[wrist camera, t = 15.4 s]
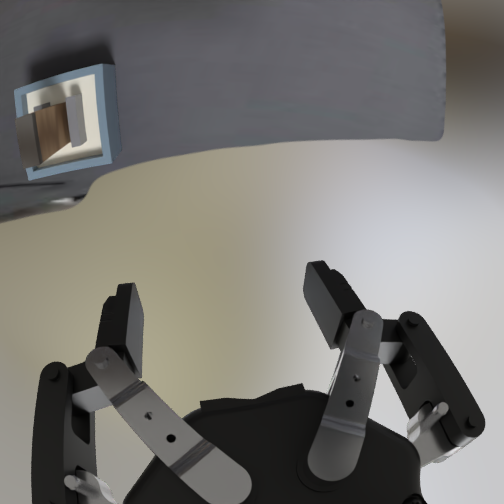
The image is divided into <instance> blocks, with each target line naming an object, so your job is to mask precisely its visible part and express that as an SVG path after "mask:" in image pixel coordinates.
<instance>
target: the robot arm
mask: <svg viewBox="0 0 504 504" xmlns="http://www.w3.org/2000/svg"><path fill="white" fill-rule="evenodd" d="M303 292H304V297H305V300H306V302H307V304H308V306H309V307H310V310H311V312H312V314H313V316H314V317H315V319H316V321H317V323H318V325H319V327H320V329H321V331H322V333H323V335H324V337H325V339H326V341H327V343H328V345H329V347H330V349H335V348H339V349H340V351H341V353H340V355H339V358H338V361H337V365H336V368H335V371H334V374H333V377H332V380H331V383H330V385H329V388H328V391H327V393H326V394H325V393H322V392H319V391H314V390H305V389H304V386H303V384H302V383H301V384H297V385H292V386H288V387H283V388H279V389H276V390H274V391H272V392H270V393H267V394H265V395H263V396H261V397H258V398H256V399H236V398H221V399H213V400H206V401H200V405H201V408H199V409H197V410H194V411H192V412H191V413H189V414H188V415H186V416H185V417H183V418H182V419H181V418H180V417H179V416H178V415H177V414H176V413H175V412H174V411H173V410H172V409H171V408H170V407H169V406H168V405H167V404H166V403H165V402H164V401H163V400H162V399H161V398H160V397H159V396H158V395H157V394H156V393H155V392H154V391H153V390H152V389H151V388H150V387H149V386H148V385H147V384H146V383H145V382H144V381H142V382H141V381H140V380H139V379H138V378H142V348H143V326H144V314H143V309H142V305H141V302H140V298H139V295H138V291H137V288H136V285H135V283H125V284H119V285H118V288H117V293H116V296H109V297H108V299H107V300H106V302H105V303H104V305H103V309H102V315H101V319H100V324H99V330H98V335H97V340H96V346H95V349H94V350H92V351H91V352H90V353H89V354H88V355H87V357H86V360H85V362H83V363H80V364H78V365H74V366H72V367H68V368H67V367H66V365H65V364H63V363H61V362H52V363H50V364H48V365H46V366H45V367H44V369H43V370H42V372H41V375H40V380H39V386H38V393H37V400H36V408H35V416H34V427H33V439H32V440H33V441H32V461H31V487H32V504H118V503H117V502H116V501H115V499H114V497H113V495H112V492H111V489H110V487H109V486H108V484H106V483H105V482H104V481H103V480H101V479H99V478H98V477H97V467H96V449H95V411H96V410H99V409H102V408H105V407H108V406H110V405H113V406H114V408H115V409H116V410H117V411H118V413H119V414H120V415H121V416H122V418H123V419H124V420H125V421H126V422H127V423H128V425H129V426H130V427H131V428H132V429H133V431H134V432H135V433H136V434H137V435H138V436H139V437H140V439H141V440H142V441H143V442H144V443H145V444H146V445H147V446H148V447H149V448H150V450H152V452H153V453H154V454H155V456H154V458H153V459H152V461H151V462H150V463H149V465H148V466H147V468H146V469H145V470H144V472H143V473H142V475H141V476H140V477H139V479H138V480H137V482H136V483H135V484H134V486H133V487H132V489H131V490H130V491H129V493H128V494H127V496H126V497H125V499H124V501H123V504H427V503H426V501H425V500H424V498H423V496H422V493H421V488H420V469H421V468H422V467H424V466H426V465H428V464H430V463H432V462H433V463H439V462H442V461H444V460H446V459H447V458H448V457H450V456H452V455H453V454H455V453H456V452H457V451H459V450H460V449H462V448H463V447H465V446H466V445H467V444H469V443H470V442H471V441H473V440H474V439H476V438H477V437H478V436H479V435H480V434H482V432H483V431H484V428H485V418H484V416H483V414H482V412H481V410H480V408H479V406H478V404H477V403H476V401H475V399H474V397H473V396H472V394H471V392H470V390H469V389H468V387H467V385H466V383H465V382H464V380H463V378H462V377H461V375H460V373H459V372H458V370H457V368H456V367H455V366H454V364H453V362H452V360H451V359H450V357H449V356H448V354H447V353H446V351H445V350H444V348H443V346H442V345H441V343H440V342H439V340H438V339H437V338H436V336H435V334H434V333H433V331H432V330H431V328H430V327H429V325H428V324H427V322H426V321H425V320H424V318H423V317H422V316H420V315H419V314H417V313H415V312H412V311H407V312H404V313H402V314H401V315H400V317H399V319H398V320H389V319H388V320H387V319H382V318H381V316H380V315H379V314H378V313H376V312H374V311H372V310H367V309H366V308H365V307H364V305H363V304H362V302H361V301H360V299H359V298H358V296H357V295H356V294H355V292H354V291H353V290H352V288H351V286H350V285H349V284H348V282H347V281H346V279H345V278H344V276H343V275H342V274H340V273H339V272H338V271H336V270H335V269H332V270H330V269H329V267H328V266H327V264H326V263H325V261H323V260H321V261H314V262H308V263H307V266H306V273H305V279H304V286H303ZM410 355H411V356H410ZM414 362H415V363H414ZM380 364H383V366H384V368H385V370H386V372H387V374H388V376H389V378H390V380H391V382H392V384H393V386H394V388H395V390H396V392H397V394H398V396H399V398H400V400H401V402H402V405H403V407H404V409H405V411H406V413H407V415H408V417H409V419H410V420H409V422H408V424H407V433H408V434H407V438H408V439H407V438H405V437H403V436H401V435H400V434H398V433H395V432H394V431H392V430H390V429H388V428H386V427H384V426H383V425H381V424H379V423H377V422H375V421H373V420H372V419H370V418H368V415H369V410H370V407H371V402H372V398H373V394H374V389H375V385H376V380H377V375H378V370H379V365H380Z"/></svg>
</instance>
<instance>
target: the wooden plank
mask: <svg viewBox="0 0 504 504" xmlns="http://www.w3.org/2000/svg"><path fill="white" fill-rule="evenodd" d="M15 124H16V131H17V138H18V144H19V149H20V154H21V160H22V164H23V169H26V168H30V167H34V166H38V165H40V164H42V163H43V162H44V161H46V160H47V159H48V158H49V157H51V156H52V155H53V154H55V153H56V152H57V151H59V150H60V149H61V148H63V147H64V146H66V145H67V144H68V143H70V142H71V139H70V132H69V125H68V117H67V108H66V102H63V103H59V104H56V105H52V106H49V107H46V108H43V109H41V110H38V111H35V112H32V113H29V114H27V115H24V116H21V117H19V118H16V119H15Z"/></svg>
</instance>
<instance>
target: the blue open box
mask: <svg viewBox="0 0 504 504" xmlns="http://www.w3.org/2000/svg"><path fill="white" fill-rule="evenodd" d="M14 95H15V105H16V114H17V118H19V117H21V116H24V115H27V114H29V113H32V112H35V111H38V110H41V109H43V108H46V107H49V106H52V105H56V104H59V103H63V102H66V108H67V117H68V125H69V132H70V139H71V142H70V143H68V144H67V145H66V146H64V147H63V148H61V149H60V150H59V151H57V152H56V153H55V154H53V155H52V156H51V157H49V158H48V159H47V160H46V161H44V162H43V163H42V164H40V165H38V166H34V167H30V168H26V171H27V175H28V179H29V180H33V179H37V178H41V177H45V176H50V175H54V174H59V173H63V172H68V171H73V170H78V169H83V168H88V167H93V166H99V165H105V164H111V163H113V161H114V160H115V159H116V157H117V156H118V154H119V153H120V152H121V150H122V145H121V137H120V128H119V118H118V106H117V93H116V76H115V65H110V64H98V65H94V66H90V67H85V68H81V69H78V70H74V71H70V72H67V73H63V74H60V75H56V76H53V77H50V78H47V79H44V80H41V81H38V82H35V83H32V84H29V85H26V86H24V87H21V88H19V89H16V90H14Z"/></svg>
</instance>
